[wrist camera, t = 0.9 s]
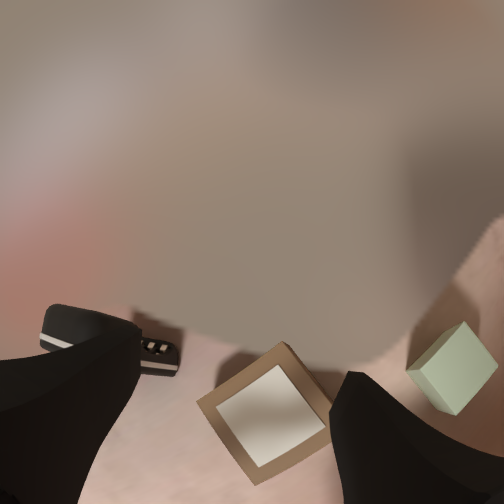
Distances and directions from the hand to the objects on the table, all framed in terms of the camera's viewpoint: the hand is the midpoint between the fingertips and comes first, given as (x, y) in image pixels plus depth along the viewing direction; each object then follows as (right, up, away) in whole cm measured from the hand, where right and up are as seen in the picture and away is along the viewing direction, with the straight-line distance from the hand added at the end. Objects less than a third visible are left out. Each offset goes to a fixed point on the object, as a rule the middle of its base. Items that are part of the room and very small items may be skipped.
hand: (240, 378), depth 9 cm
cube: (+15, -5, +9) cm, 18 cm away
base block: (+2, -8, +11) cm, 14 cm away
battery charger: (-9, -5, +17) cm, 20 cm away
